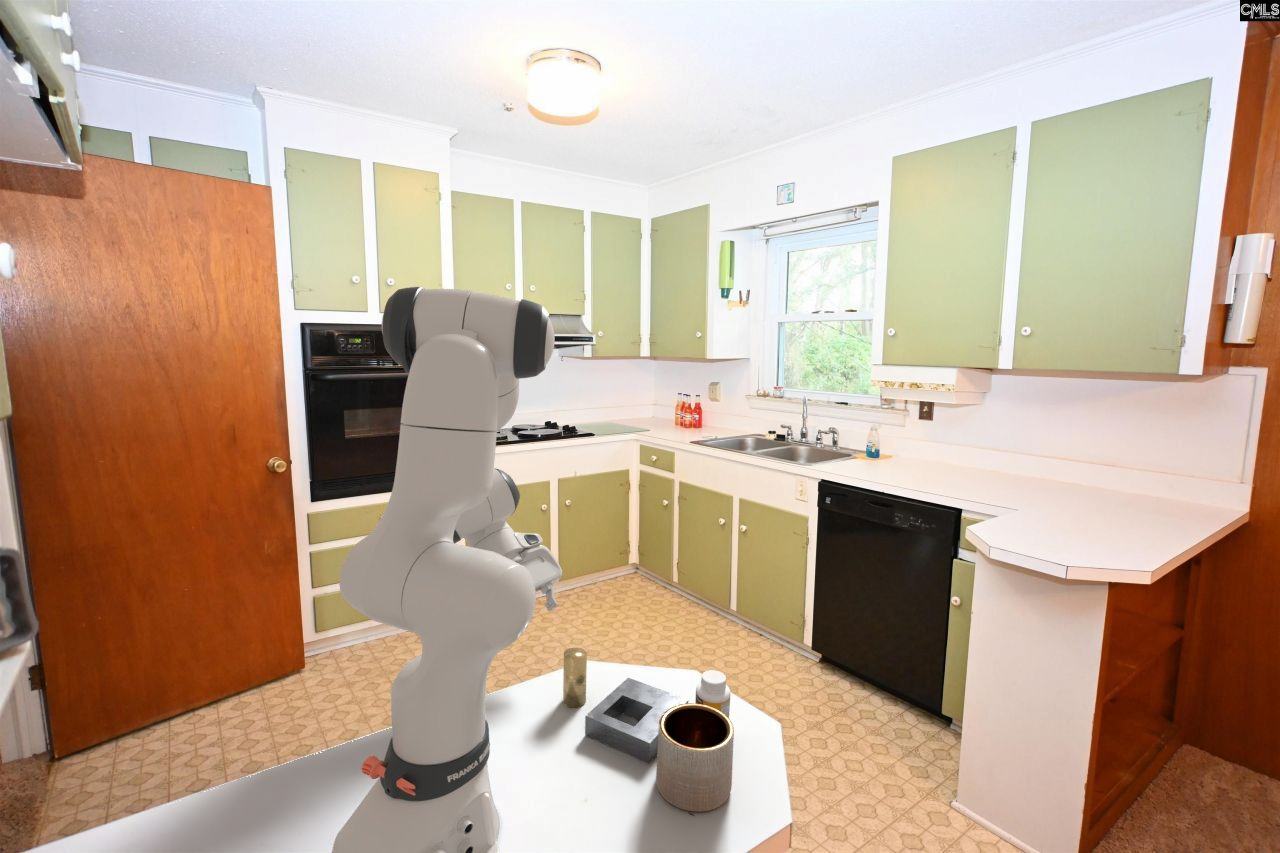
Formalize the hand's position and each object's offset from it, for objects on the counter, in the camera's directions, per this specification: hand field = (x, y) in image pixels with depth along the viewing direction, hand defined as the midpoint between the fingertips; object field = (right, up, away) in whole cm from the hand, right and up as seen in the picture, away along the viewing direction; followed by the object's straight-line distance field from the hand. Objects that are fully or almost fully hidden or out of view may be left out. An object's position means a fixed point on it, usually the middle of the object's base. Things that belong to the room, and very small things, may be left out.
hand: (536, 617), depth 109 cm
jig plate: (+19, -15, -10) cm, 26 cm away
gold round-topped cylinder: (+7, -14, -4) cm, 16 cm away
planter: (+27, -17, -23) cm, 39 cm away
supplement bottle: (+31, -16, -11) cm, 36 cm away
